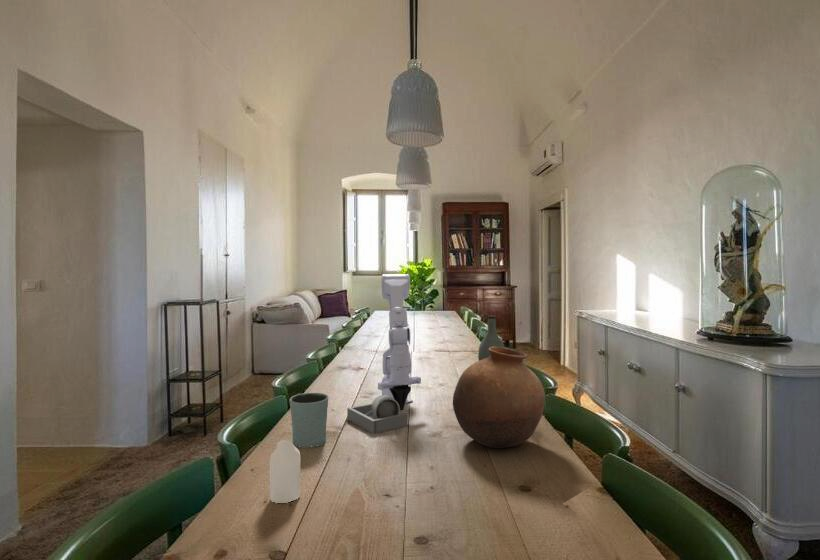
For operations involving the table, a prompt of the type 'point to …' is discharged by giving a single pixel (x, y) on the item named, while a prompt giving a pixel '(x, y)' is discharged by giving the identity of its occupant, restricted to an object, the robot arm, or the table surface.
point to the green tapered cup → (309, 418)
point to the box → (376, 425)
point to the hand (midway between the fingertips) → (400, 409)
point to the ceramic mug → (383, 407)
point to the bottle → (489, 339)
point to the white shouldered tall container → (285, 473)
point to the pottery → (499, 399)
